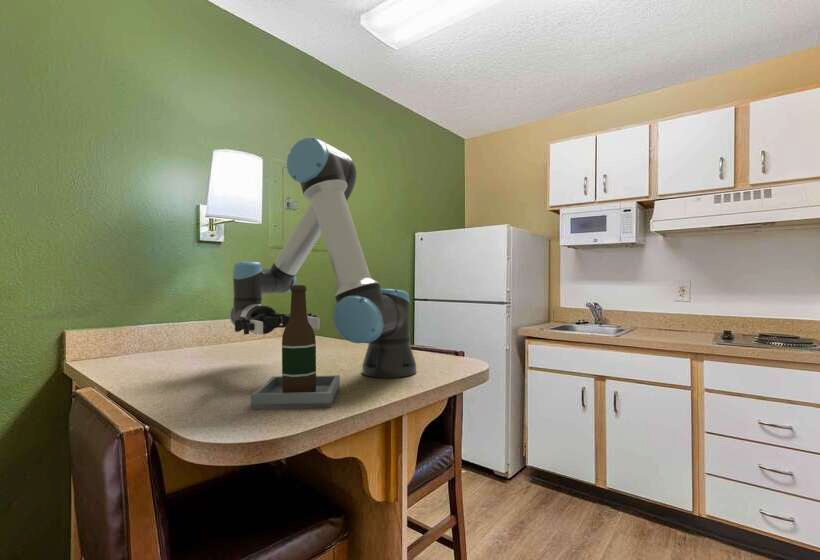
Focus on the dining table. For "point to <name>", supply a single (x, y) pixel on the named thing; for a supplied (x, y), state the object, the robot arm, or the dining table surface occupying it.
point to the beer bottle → (298, 347)
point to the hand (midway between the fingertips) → (291, 325)
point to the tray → (296, 394)
